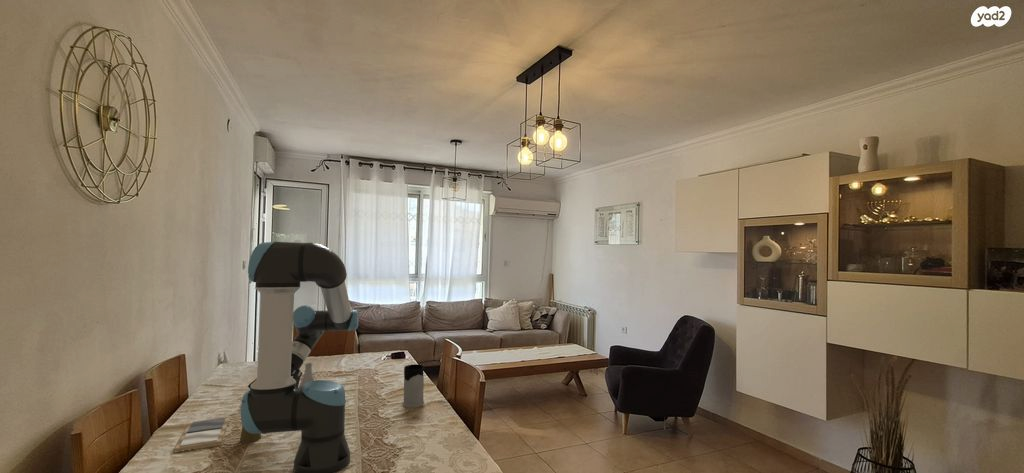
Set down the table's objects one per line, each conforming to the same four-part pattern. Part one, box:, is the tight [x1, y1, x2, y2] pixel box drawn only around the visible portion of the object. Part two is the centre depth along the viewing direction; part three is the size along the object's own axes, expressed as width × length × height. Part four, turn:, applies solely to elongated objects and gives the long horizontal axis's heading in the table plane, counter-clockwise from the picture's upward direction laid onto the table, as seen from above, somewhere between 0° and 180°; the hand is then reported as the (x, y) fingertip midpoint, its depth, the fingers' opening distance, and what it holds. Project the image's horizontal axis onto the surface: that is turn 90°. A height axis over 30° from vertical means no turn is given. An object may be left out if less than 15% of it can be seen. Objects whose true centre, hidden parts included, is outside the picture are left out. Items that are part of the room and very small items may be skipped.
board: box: [173, 416, 231, 453], centre depth 147 cm, size 22×12×2 cm, turn 27°
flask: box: [298, 362, 316, 388], centre depth 201 cm, size 7×7×10 cm
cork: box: [239, 425, 262, 444], centre depth 144 cm, size 6×6×11 cm
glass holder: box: [402, 364, 425, 409], centre depth 181 cm, size 9×14×15 cm, turn 36°
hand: (256, 412), depth 146 cm, fingers open, 13 cm apart
